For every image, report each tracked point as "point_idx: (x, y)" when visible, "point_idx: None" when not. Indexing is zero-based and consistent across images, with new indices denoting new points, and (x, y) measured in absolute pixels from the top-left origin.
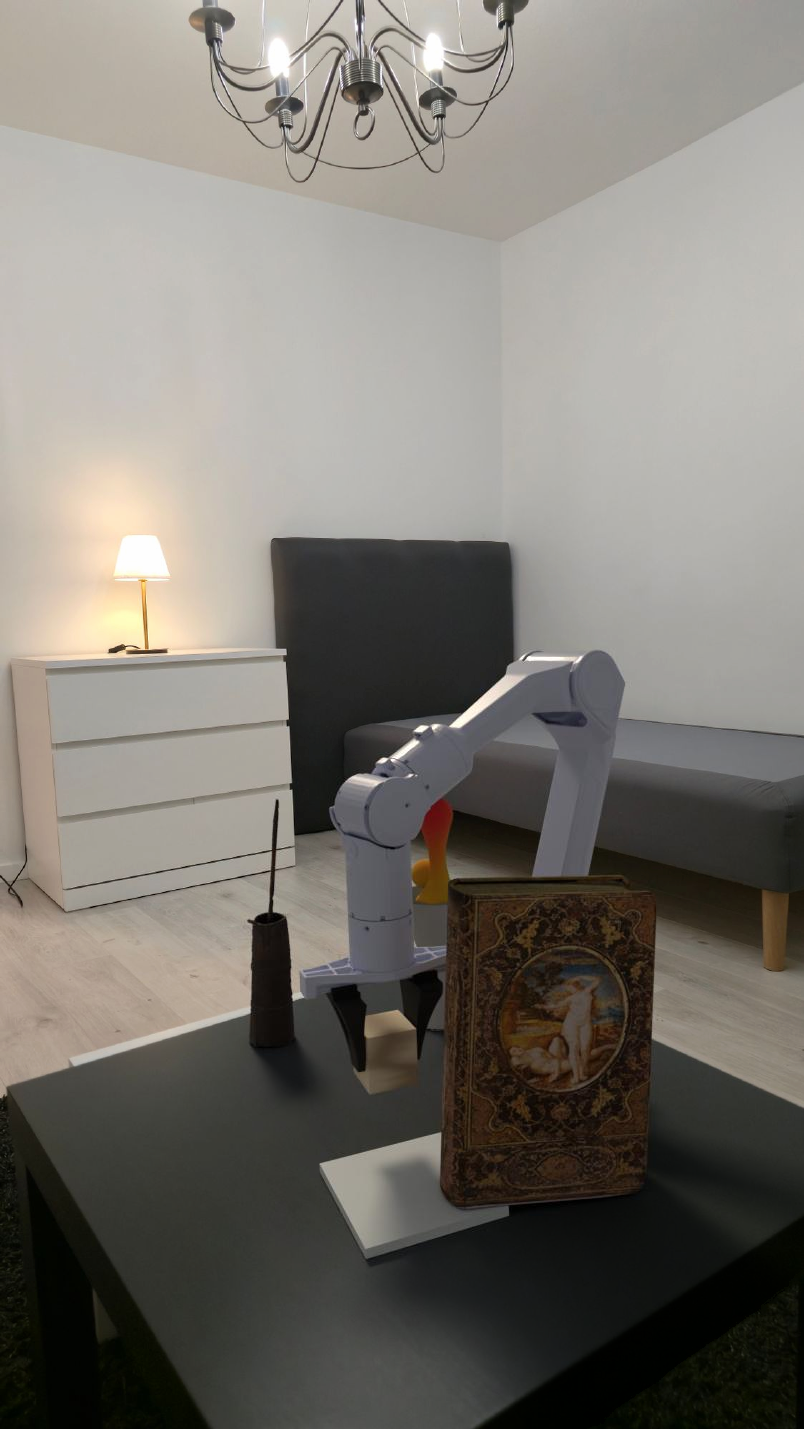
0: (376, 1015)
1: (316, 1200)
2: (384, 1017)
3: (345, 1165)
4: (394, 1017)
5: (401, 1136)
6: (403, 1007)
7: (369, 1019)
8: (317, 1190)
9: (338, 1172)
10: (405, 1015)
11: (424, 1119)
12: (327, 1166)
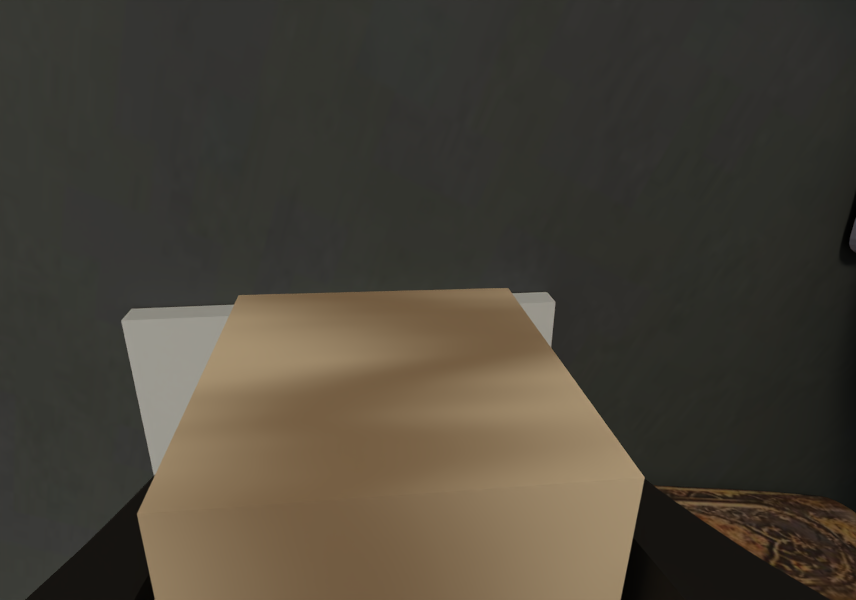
0: (406, 529)
1: (106, 419)
2: (458, 584)
3: (204, 357)
4: (538, 597)
5: (433, 221)
6: (675, 596)
7: (313, 581)
8: (114, 382)
9: (175, 382)
10: (638, 584)
11: (543, 156)
12: (145, 345)
